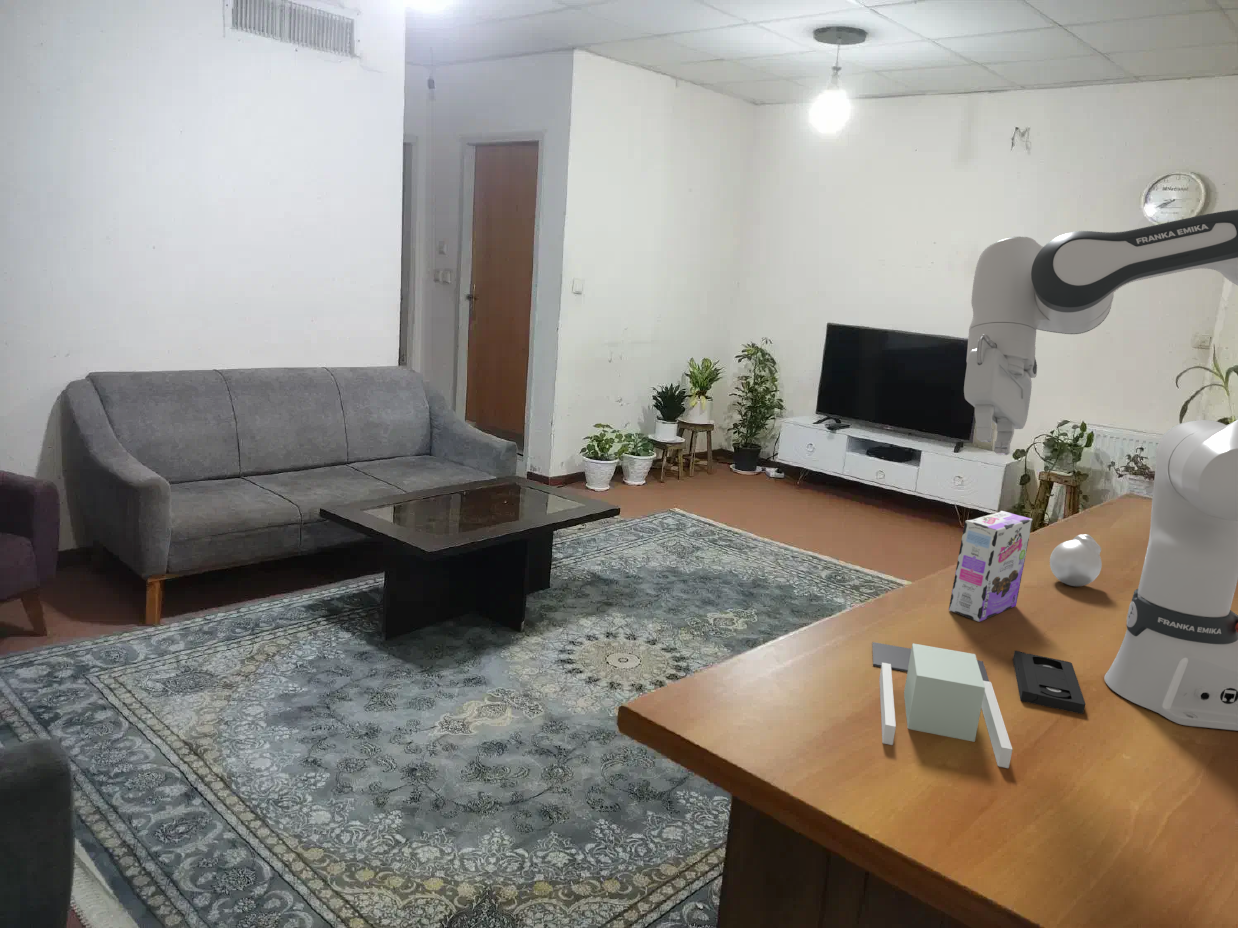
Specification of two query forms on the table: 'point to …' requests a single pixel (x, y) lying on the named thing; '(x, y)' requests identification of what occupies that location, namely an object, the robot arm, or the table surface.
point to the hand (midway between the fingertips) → (993, 448)
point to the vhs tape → (1048, 682)
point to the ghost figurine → (1076, 561)
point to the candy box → (990, 565)
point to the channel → (899, 660)
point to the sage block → (943, 692)
